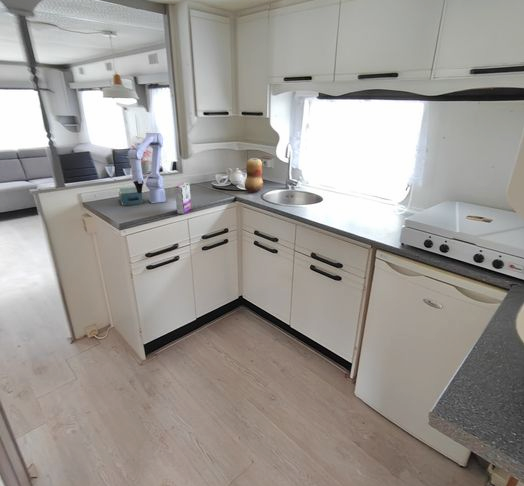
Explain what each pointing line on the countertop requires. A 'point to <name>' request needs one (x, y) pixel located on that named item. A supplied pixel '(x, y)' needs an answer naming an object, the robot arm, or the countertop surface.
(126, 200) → the drawer
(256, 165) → the butternut squash
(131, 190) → the cabinet
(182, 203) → the candy bar box
